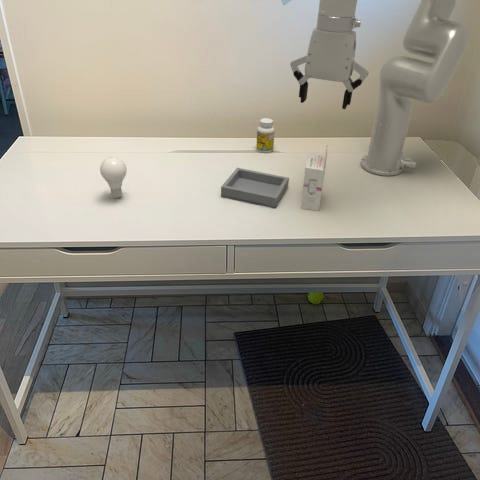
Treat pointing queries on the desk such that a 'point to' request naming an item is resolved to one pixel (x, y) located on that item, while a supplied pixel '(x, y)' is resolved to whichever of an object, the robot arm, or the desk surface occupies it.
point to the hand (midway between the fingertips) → (323, 104)
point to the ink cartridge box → (313, 181)
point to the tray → (255, 187)
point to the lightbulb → (114, 174)
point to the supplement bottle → (265, 136)
